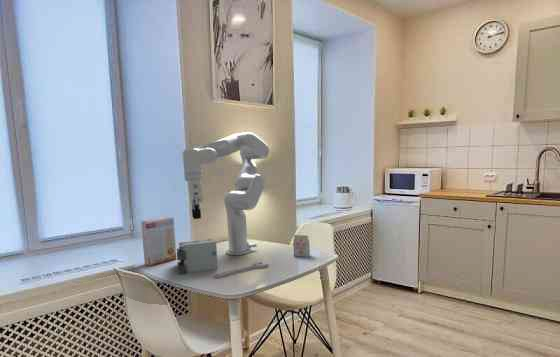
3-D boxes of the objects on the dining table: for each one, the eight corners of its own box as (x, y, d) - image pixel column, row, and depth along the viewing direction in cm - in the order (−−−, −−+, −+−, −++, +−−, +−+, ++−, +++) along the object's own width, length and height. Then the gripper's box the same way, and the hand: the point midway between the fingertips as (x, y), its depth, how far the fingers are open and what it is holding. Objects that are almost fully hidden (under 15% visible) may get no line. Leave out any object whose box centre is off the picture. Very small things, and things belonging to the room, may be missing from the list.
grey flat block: (217, 267, 152) (215, 240, 152) (218, 269, 149) (216, 242, 148) (184, 271, 148) (182, 244, 148) (184, 273, 145) (183, 245, 144)
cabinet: (212, 259, 164) (211, 239, 164) (216, 269, 149) (215, 246, 148) (177, 264, 160) (176, 243, 159) (178, 274, 144) (176, 251, 144)
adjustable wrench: (215, 280, 136) (215, 276, 136) (210, 276, 142) (209, 272, 142) (270, 267, 149) (269, 263, 149) (263, 264, 155) (262, 260, 155)
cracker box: (171, 257, 172) (168, 216, 171) (177, 259, 168) (174, 217, 167) (143, 264, 162) (140, 220, 161) (149, 266, 158) (146, 221, 157)
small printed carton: (297, 254, 167) (296, 234, 167) (309, 255, 164) (309, 234, 164) (293, 256, 164) (293, 235, 163) (306, 257, 161) (306, 236, 160)
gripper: (204, 177, 144) (207, 219, 146) (200, 175, 160) (203, 214, 161) (186, 178, 142) (189, 221, 143) (183, 176, 158) (186, 215, 159)
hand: (196, 217), depth 152 cm, fingers open, 4 cm apart
